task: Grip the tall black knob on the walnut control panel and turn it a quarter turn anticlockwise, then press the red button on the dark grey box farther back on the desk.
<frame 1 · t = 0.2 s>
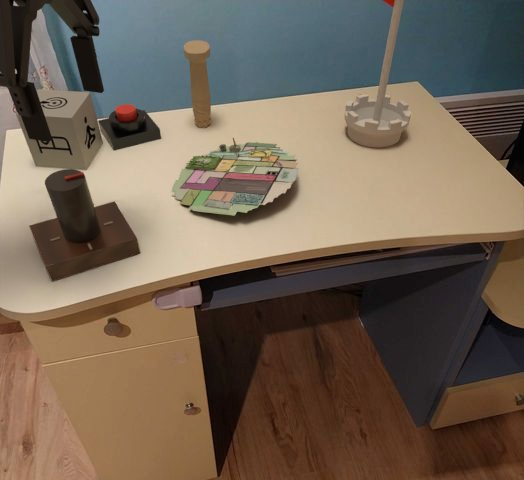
hand: (69, 113, 64), 21 cm above the table, tool pointing down, fingers open, 13 cm apart
city model: (234, 185, 92), on the table
button: (126, 113, 99), point 4 cm above the table, slide at 0.1 cm
icon cube: (70, 155, 97), on the table
flag stand: (373, 134, 104), on the table
handle: (203, 125, 105), on the table
button box: (130, 134, 102), on the table
knob: (73, 205, 74), point 8 cm above the table, hinge at 0.0°
panel: (87, 246, 80), on the table
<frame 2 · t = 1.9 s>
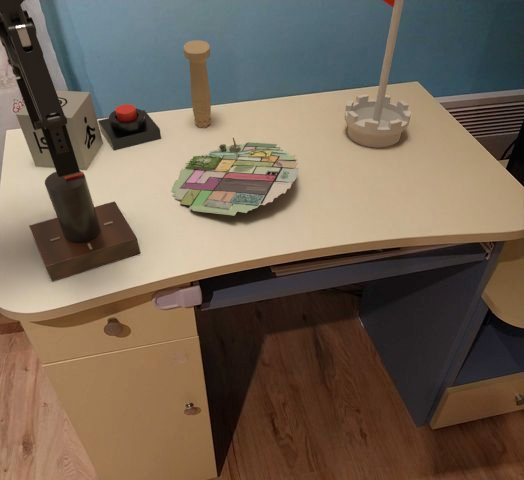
hand: (55, 148, 67), 17 cm above the table, tool pointing down, fingers open, 13 cm apart
nothing on the table moved.
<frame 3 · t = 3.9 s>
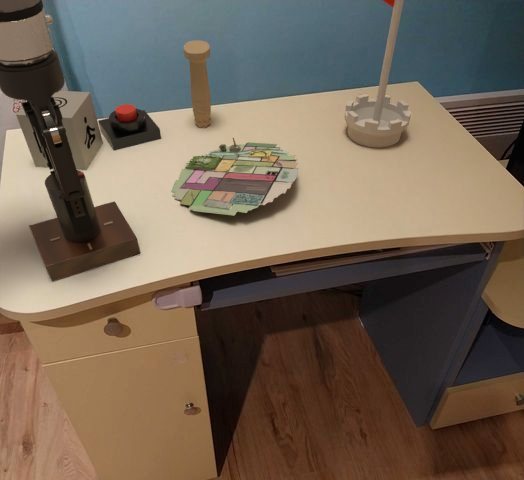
hand: (78, 219, 76), 5 cm above the table, tool pointing down, fingers closed on knob, 6 cm apart
knob: (73, 205, 74), point 8 cm above the table, hinge at 0.0°, touching gripper
everything else where it was.
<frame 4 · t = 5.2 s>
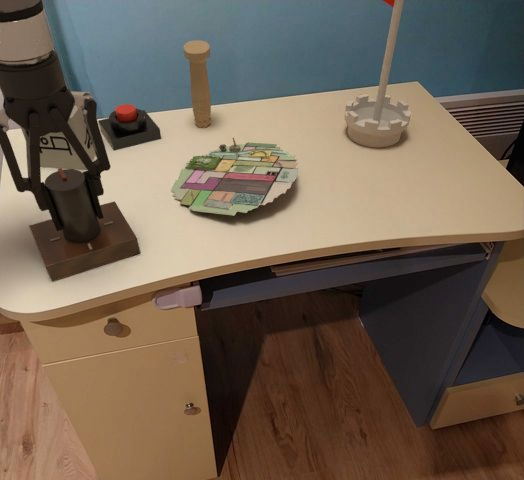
hand: (78, 219, 76), 5 cm above the table, tool pointing down, fingers closed on knob, 6 cm apart
knob: (73, 205, 74), point 8 cm above the table, hinge at 90.5°, touching gripper
everything else where it was.
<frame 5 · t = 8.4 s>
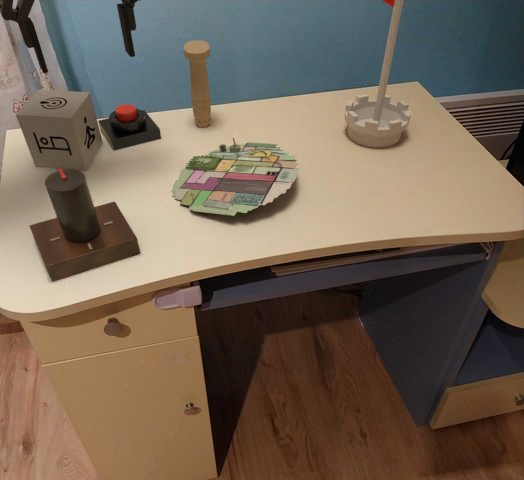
hand: (88, 61, 78), 20 cm above the table, tool pointing down, fingers open, 13 cm apart
knob: (73, 205, 74), point 8 cm above the table, hinge at 90.4°
everything else where it was.
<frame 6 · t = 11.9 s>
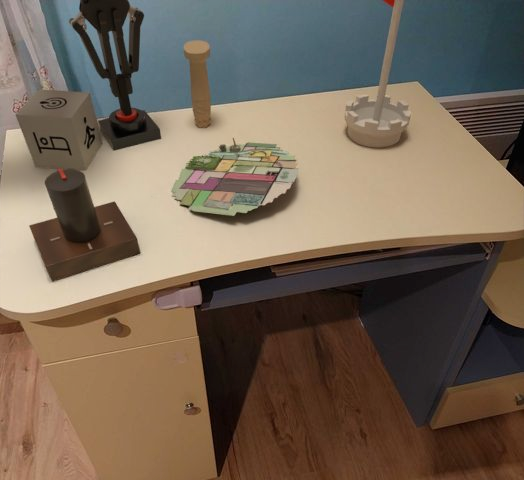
hand: (126, 111, 99), 5 cm above the table, tool pointing down, fingers closed
button: (127, 117, 99), point 4 cm above the table, slide at -0.7 cm, touching gripper
everything else where it was.
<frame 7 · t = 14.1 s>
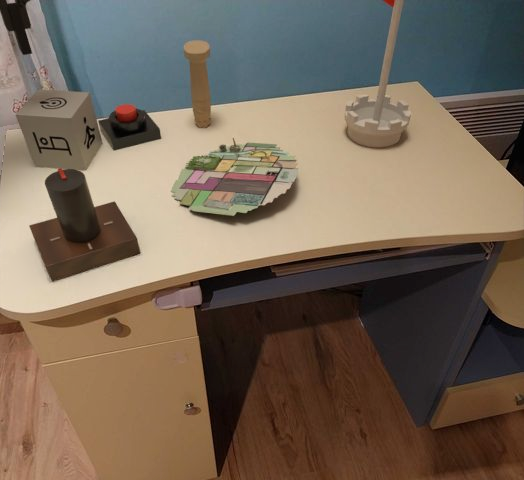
hand: (25, 51, 83), 19 cm above the table, tool pointing down, fingers closed
button: (126, 113, 99), point 4 cm above the table, slide at 0.1 cm
everything else where it was.
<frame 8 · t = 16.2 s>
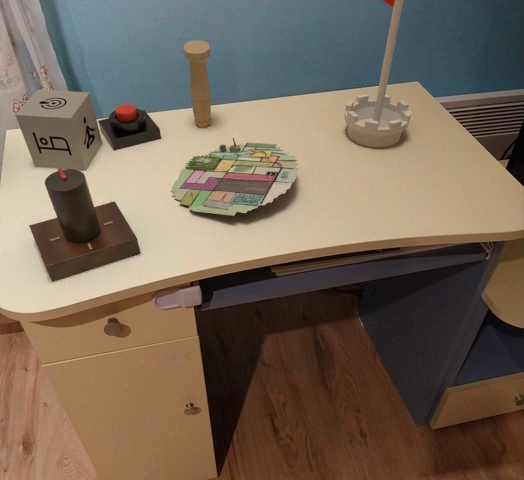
nothing on the table moved.
at the end: knob at +90° (first picture: +0°); button pushed in 1.0 cm at the most during the clip, back to where it started at the end; button slide at 0.1 cm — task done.
